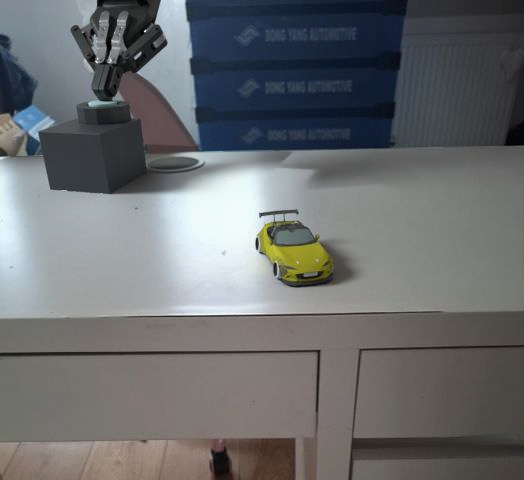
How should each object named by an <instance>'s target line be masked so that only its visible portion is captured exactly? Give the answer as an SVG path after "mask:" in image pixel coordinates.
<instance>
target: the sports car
mask: <svg viewBox="0 0 524 480" xmlns="http://www.w3.org/2000/svg"><path fill="white" fill-rule="evenodd" d="M299 213H300V212H299V210H298V209H297V208H295V209H282V210H281V209H280V210H272V211H264V212H258V218H259V219H261V218H262V217H266V216H273V221H271V222H266V223H264V225H263V227H262V228H261V229H260V231H259V232H258V233H257V234H256V237H255V241H254V246H255V250H256V252H257V253H262V254H264V255H265V256H267V258H268V260H269V261H270V264H271V265H272V272H273V273H272V274H273V277H274V278H275V279H279V281H280V282H281V283H282V284H285V285H288V286H294V287H295V286H306V285H316V284H323V283H328V282H330V281H331V280H332V279H333V278H334V273H333V272H334V267H335V265H334V259H333V257H332V255H331V254H330V252H329V251H327V250H326V249H325V248H324V247H323V245H321V243H320V242H319V239H320V238H321V235H320V234H315V235H314V234H313V233H312V231H311V229H310V228H309V227H308V226H305V225H304V224H303V223H302V221H300V220H286V218H285V217H286V216H285V215H287V214H296V215H299ZM276 215H283V220H277V221H276V217H275V216H276Z"/></svg>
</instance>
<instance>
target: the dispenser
mask: <svg viewBox="0 0 524 480" xmlns="http://www.w3.org/2000/svg"><path fill="white" fill-rule="evenodd" d="M91 101H92V100H90V101H85V102H80V103H77V104H76V106H75V108H76V114H77V118H74V119H72V120H69V121H66V122H63V123H60V124H57V125H53V126H50V127H46V128H43V129H41V130H38V131H37V134H38V139H39V143H40V148H41V153H42V157H43V158H42V159H43V162H44V167H45V171H46V176H47V180H48V185H49V189H50V191H61V190H67V191H66V192H74V191H75V193H86V194H87V193H90V194H100V193H103V194H102V195H111V194H113V193H114V192H116V191H118V190H120V189H122V188H124V187H125V186H126V185H128V184H130V183H133V181H135V180H137V179H139V178H141V177H142V176H144V175H145V174H147V173H148V170H147V162H146V153H145V145H144V144H145V143H144V137H143V136H144V135H143V129H142V128H143V127H142V121H141V118H138V117H137V118H136V117H135V118H134V117H132V114H131V106H130V102H129V101H125V100H118V99H117V100H116V99H115V101H117V105H114V106H105V107H91V106H89V104H88V103H89V102H91ZM112 192H113V193H112Z"/></svg>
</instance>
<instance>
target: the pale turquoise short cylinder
mask: <svg viewBox="0 0 524 480" xmlns="http://www.w3.org/2000/svg"><path fill="white" fill-rule="evenodd" d="M115 100H116V99H115ZM115 100H113V99H112V101H99V99H97V100H90V101H91V102H90V101H88V102H89V103H88V104H89V106H91V107H105V106H114V105H117V101H115Z"/></svg>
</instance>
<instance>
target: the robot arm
mask: <svg viewBox="0 0 524 480" xmlns="http://www.w3.org/2000/svg"><path fill="white" fill-rule="evenodd" d="M161 3H162V0H96V8H95V10H94V12H93V13H92V14H91V15H90V18H89V23H88V24H86V25H85V26H83V27H80V26H79V25H78V24H74V25H72V26H71V27H70V33H71V36H72V37H73V39H74V41H75V43H76V44H77V46H78V48H79V50H80V52H81V55H82V56H83V58H84V59H85V61H86V63H87V65H89V67H90V68H91V70H92V71H93V72H94V73H93V77H92V80H91V84H90V86H91V87H90V88H91V90H92V92H93V94H94V95H95V97H96V98H97V100H99V101H112V100H113V99H114V98H115V97H116V96H117V94H118V91H119V89H120V84H121V80H122V78H123V77H125V75H126V74H127V73H128V72H129V73H132V74H137V73H138V72H139V71H140V70H142V69H143V68H144V67H145V66H146V65H148V63H149V62H150V61H152V60H153V59H154V58H155V57H156V56H157V55H158V54H159V53H160V52H161V51H163V50H164V49H165V48H166V47H167V46H168V43H169V42H168V39H167V38H166V35H165V33H164V31H163V29H162V26H161V25H160V24H157V23H156V21H157V17H158V13H159V9H160V5H161ZM94 36H95V37H96V46H97V50H96V52H95V51H94V49H93V47H94V46H95V43H94V42H95V39H94ZM139 54H140V55H139ZM138 55H139V56H138ZM137 56H138V57H137Z"/></svg>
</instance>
